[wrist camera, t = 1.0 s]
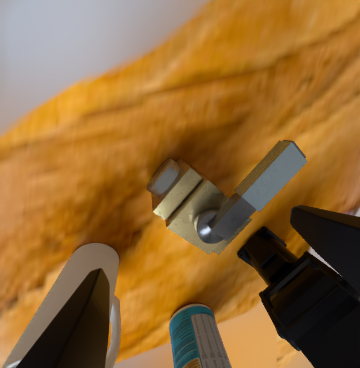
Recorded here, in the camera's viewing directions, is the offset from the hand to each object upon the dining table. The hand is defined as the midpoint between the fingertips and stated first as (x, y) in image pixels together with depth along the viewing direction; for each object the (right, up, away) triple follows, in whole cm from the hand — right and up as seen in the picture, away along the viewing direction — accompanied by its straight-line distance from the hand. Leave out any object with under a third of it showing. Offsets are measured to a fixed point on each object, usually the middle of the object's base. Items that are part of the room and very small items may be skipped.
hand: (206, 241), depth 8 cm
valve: (0, +1, +15) cm, 15 cm away
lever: (+4, +2, +8) cm, 10 cm away
